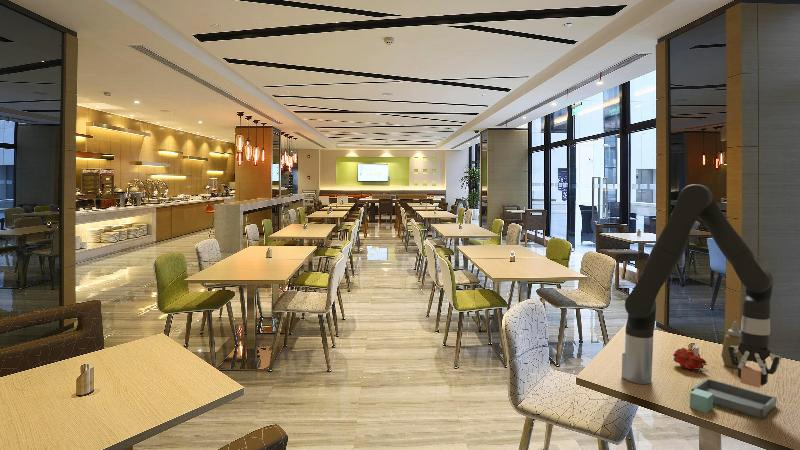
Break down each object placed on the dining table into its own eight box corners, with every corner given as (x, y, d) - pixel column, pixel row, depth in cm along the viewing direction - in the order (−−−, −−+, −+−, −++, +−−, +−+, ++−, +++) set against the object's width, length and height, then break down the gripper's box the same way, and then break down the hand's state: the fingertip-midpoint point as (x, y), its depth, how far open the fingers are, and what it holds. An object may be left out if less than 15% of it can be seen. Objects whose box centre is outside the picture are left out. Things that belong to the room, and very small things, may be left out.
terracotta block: (740, 382, 155) (741, 367, 154) (745, 378, 158) (746, 364, 157) (759, 387, 151) (760, 372, 150) (764, 383, 154) (764, 368, 153)
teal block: (689, 407, 155) (690, 392, 155) (695, 402, 158) (696, 388, 158) (706, 413, 151) (707, 398, 151) (712, 408, 155) (713, 393, 154)
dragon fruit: (671, 366, 193) (703, 380, 184) (665, 359, 188) (698, 373, 179) (680, 348, 195) (712, 361, 186) (675, 340, 190) (708, 353, 180)
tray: (691, 397, 162) (691, 388, 162) (706, 386, 171) (707, 378, 171) (762, 419, 147) (763, 410, 146) (775, 406, 155) (776, 397, 155)
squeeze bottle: (735, 362, 194) (737, 318, 192) (750, 369, 185) (753, 324, 184) (716, 362, 193) (718, 319, 192) (730, 370, 185) (733, 325, 184)
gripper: (725, 327, 156) (722, 378, 157) (779, 338, 145) (776, 392, 146) (733, 323, 161) (730, 372, 162) (786, 333, 149) (783, 385, 151)
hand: (752, 381), depth 154 cm, fingers closed on terracotta block, 5 cm apart
